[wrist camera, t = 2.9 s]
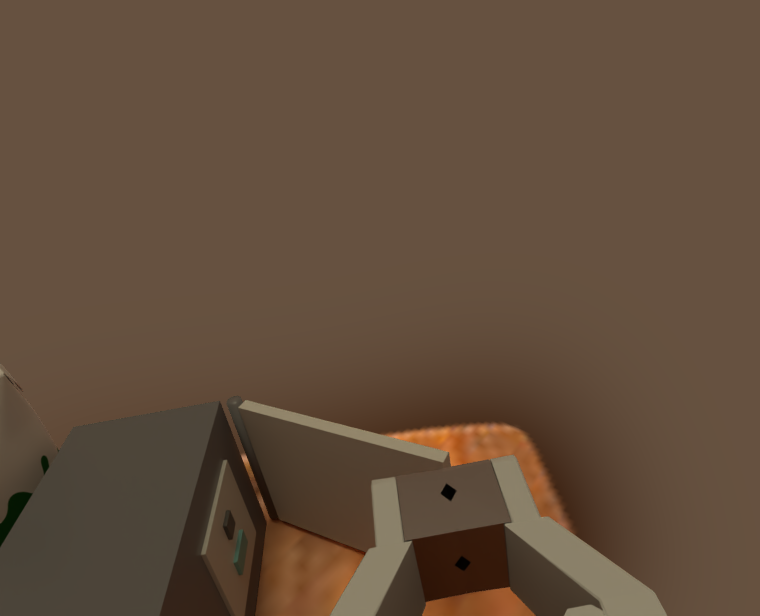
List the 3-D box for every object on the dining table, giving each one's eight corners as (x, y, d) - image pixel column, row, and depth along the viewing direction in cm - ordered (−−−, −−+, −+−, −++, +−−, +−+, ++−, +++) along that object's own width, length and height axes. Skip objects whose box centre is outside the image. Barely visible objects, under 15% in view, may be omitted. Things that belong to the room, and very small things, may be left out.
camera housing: (244, 770, 29) (163, 638, 23) (47, 804, 29) (-82, 681, 23) (275, 500, 45) (231, 381, 39) (147, 522, 45) (85, 407, 39)
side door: (468, 573, 36) (451, 445, 31) (461, 591, 35) (442, 462, 30) (276, 503, 44) (236, 392, 38) (266, 516, 43) (223, 403, 38)
